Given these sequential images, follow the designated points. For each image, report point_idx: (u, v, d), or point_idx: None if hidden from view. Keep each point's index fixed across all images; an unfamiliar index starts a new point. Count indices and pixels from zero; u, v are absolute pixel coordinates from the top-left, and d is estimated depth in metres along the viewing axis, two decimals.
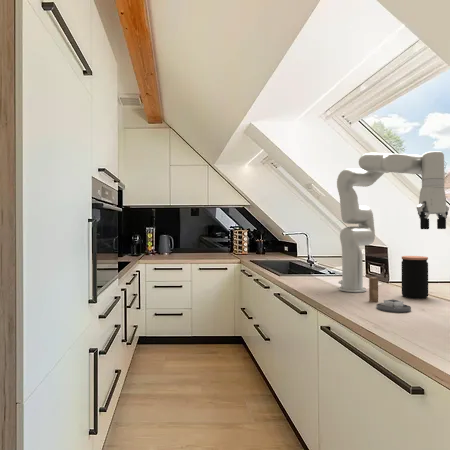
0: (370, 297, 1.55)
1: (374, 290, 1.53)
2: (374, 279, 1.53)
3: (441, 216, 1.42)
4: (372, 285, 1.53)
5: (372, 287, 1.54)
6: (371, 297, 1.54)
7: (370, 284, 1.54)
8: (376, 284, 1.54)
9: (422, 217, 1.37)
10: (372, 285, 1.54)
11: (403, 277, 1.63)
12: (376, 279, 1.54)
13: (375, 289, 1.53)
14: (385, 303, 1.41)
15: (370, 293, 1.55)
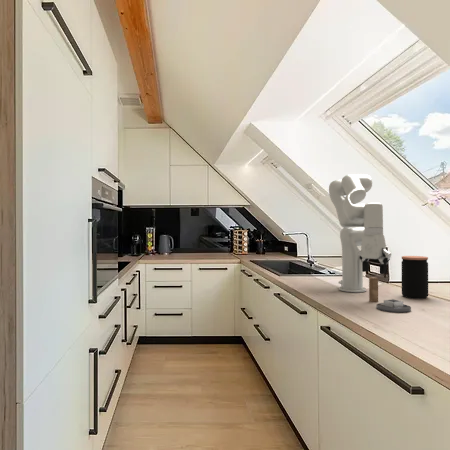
0: (370, 297, 1.55)
1: (374, 290, 1.53)
2: (374, 279, 1.53)
3: (365, 260, 1.59)
4: (372, 285, 1.53)
5: (372, 287, 1.54)
6: (371, 297, 1.54)
7: (370, 284, 1.54)
8: (376, 284, 1.54)
9: (385, 263, 1.48)
10: (372, 285, 1.54)
11: (403, 277, 1.63)
12: (376, 279, 1.54)
13: (375, 289, 1.53)
14: (385, 303, 1.41)
15: (370, 293, 1.55)
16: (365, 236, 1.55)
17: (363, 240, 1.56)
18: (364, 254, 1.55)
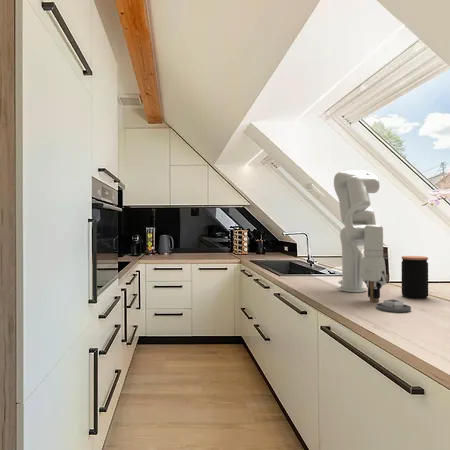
0: (371, 297, 1.54)
1: None
2: None
3: None
4: (373, 285, 1.53)
5: (373, 287, 1.53)
6: (372, 297, 1.54)
7: (371, 284, 1.54)
8: None
9: (378, 289, 1.52)
10: (373, 285, 1.53)
11: (403, 277, 1.63)
12: None
13: None
14: (385, 303, 1.41)
15: (370, 293, 1.54)
16: (365, 258, 1.55)
17: (363, 262, 1.56)
18: (364, 276, 1.56)
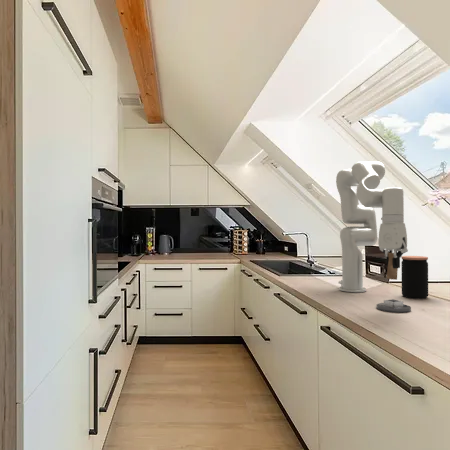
0: (388, 274, 1.40)
1: None
2: None
3: None
4: None
5: (391, 263, 1.39)
6: (390, 274, 1.39)
7: (389, 260, 1.40)
8: None
9: (398, 257, 1.38)
10: (391, 261, 1.39)
11: (403, 277, 1.63)
12: None
13: None
14: (385, 303, 1.41)
15: (388, 269, 1.40)
16: (383, 224, 1.41)
17: (381, 229, 1.42)
18: (382, 244, 1.41)
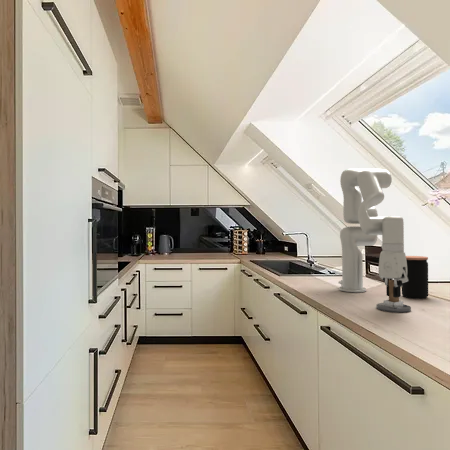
0: None
1: None
2: None
3: None
4: None
5: (392, 290, 1.39)
6: None
7: (390, 287, 1.40)
8: None
9: (399, 286, 1.37)
10: (392, 288, 1.39)
11: None
12: None
13: None
14: (385, 303, 1.41)
15: (389, 297, 1.40)
16: (384, 253, 1.41)
17: (381, 257, 1.42)
18: (382, 272, 1.41)
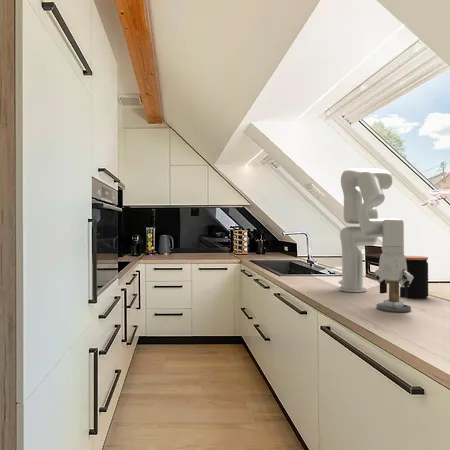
0: None
1: (395, 294, 1.38)
2: (395, 281, 1.38)
3: (382, 280, 1.45)
4: (393, 288, 1.39)
5: (392, 290, 1.39)
6: (391, 301, 1.39)
7: (390, 287, 1.40)
8: (397, 287, 1.39)
9: (406, 286, 1.34)
10: (392, 288, 1.39)
11: None
12: (397, 281, 1.39)
13: (396, 293, 1.39)
14: (385, 303, 1.41)
15: (390, 297, 1.40)
16: (384, 255, 1.41)
17: (381, 259, 1.42)
18: (382, 275, 1.41)
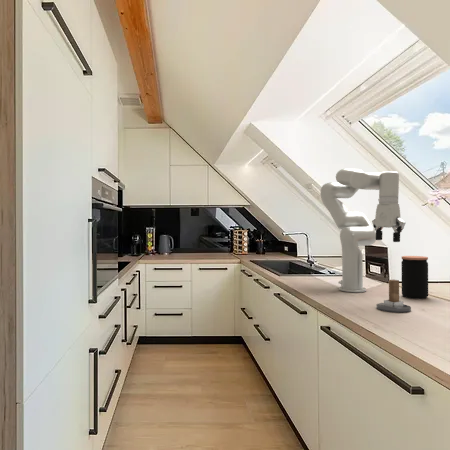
0: None
1: (395, 294, 1.38)
2: (395, 281, 1.38)
3: (378, 228, 1.60)
4: (393, 288, 1.39)
5: (392, 290, 1.39)
6: (391, 301, 1.39)
7: (390, 287, 1.40)
8: (397, 287, 1.39)
9: (399, 231, 1.50)
10: (392, 288, 1.39)
11: (403, 277, 1.63)
12: (397, 281, 1.39)
13: (396, 293, 1.39)
14: (385, 303, 1.41)
15: (390, 297, 1.40)
16: (380, 205, 1.56)
17: (378, 209, 1.57)
18: (378, 223, 1.57)
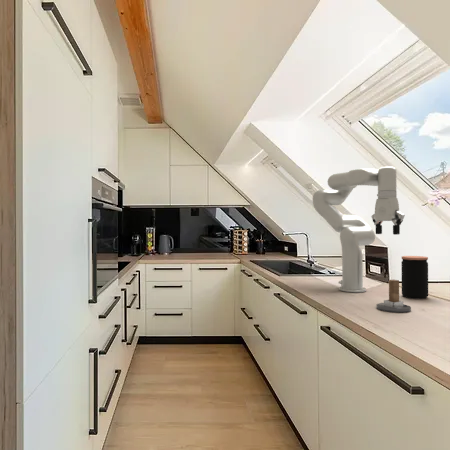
0: None
1: (395, 294, 1.38)
2: (395, 281, 1.38)
3: (378, 223, 1.65)
4: (393, 288, 1.39)
5: (392, 290, 1.39)
6: (391, 301, 1.39)
7: (390, 287, 1.40)
8: (397, 287, 1.39)
9: (399, 224, 1.55)
10: (392, 288, 1.39)
11: (403, 277, 1.63)
12: (397, 281, 1.39)
13: (396, 293, 1.39)
14: (385, 303, 1.41)
15: (390, 297, 1.40)
16: (379, 199, 1.61)
17: (377, 203, 1.62)
18: (378, 217, 1.62)
